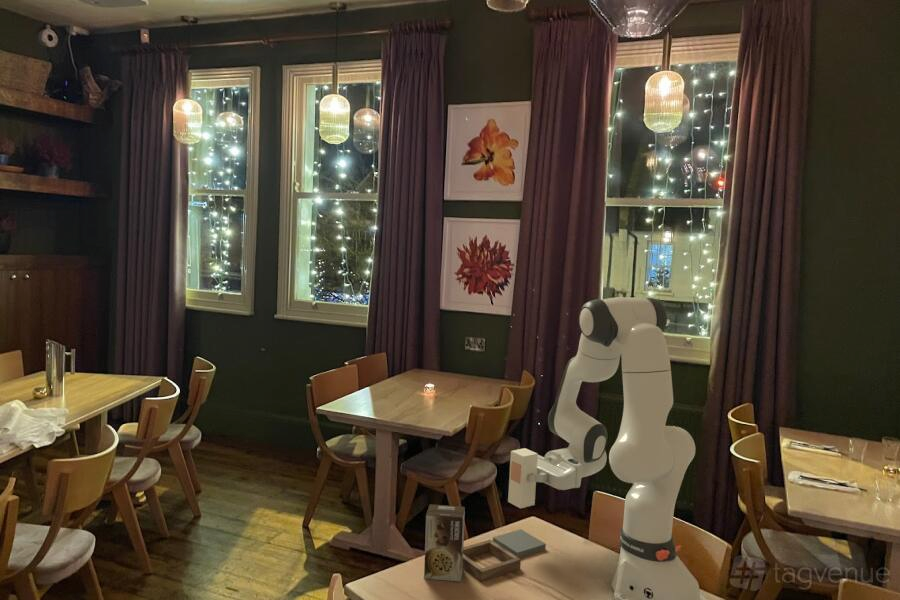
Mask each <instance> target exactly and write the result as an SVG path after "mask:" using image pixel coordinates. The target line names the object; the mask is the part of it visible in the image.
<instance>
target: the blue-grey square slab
mask: <svg viewBox="0 0 900 600" xmlns="http://www.w3.org/2000/svg"><path fill="white" fill-rule="evenodd" d="M492 541H493V542H495V543H496V544H498V545H499V546H501V547H502V548H504V549H506V550H507V551H509V552H510V553H512V554H513V555H515V556H516V557H518V558H522V557H526V556H529V555H531V554H534V553H538V552H541V551H544V550H546V547H547V546H546V545H547V543H546V542H544V541H542V540H540V539H538V538H537V537H535V536H533V535H532V534H530V533H528V532H526V531H525V530H523V529H522V528H521V529H517V530H514V531H513V530H512V531H510V532H507V533H506V532H505V533H503V534H500V535H495V536H492Z"/></svg>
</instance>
